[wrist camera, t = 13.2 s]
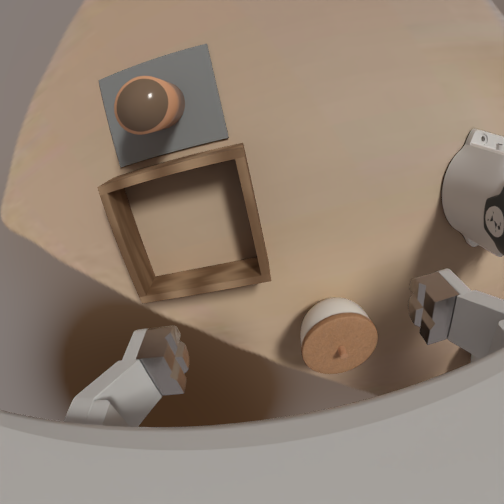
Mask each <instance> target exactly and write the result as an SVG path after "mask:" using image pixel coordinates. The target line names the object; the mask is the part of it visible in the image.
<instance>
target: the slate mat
mask: <svg viewBox="0 0 504 504" xmlns="http://www.w3.org/2000/svg"><path fill="white" fill-rule="evenodd" d="M139 76H151V77H155V78H158V79H161V80H164V81H167V82H170V83H172V84H174V85H176V86H177V87H178V88H179V89H180V90H181V91H182V93H183V95H184V98H185V109H184V112H183V115H182V117H181V118H180V120H179V121H178V122H177V123H176V124H175V125H173V126H171V127H169V128H167V129H163V130H159V131H155V132H152V133H148V134H142V135H138V134H133V133H130V132H128V131H126V130H124V129H123V128H122V127H121V126H120V125H119V123H118V121H117V119H116V117H115V113H114V103H115V99H116V96H117V94H118V92H119V90H120V89H121V88H122V86H123V85H124V84H125V83H127V82H128V81H129V80H131V79H133V78H135V77H139ZM99 84H100V89H101V94H102V98H103V102H104V107H105V111H106V115H107V119H108V123H109V127H110V131H111V135H112V138H113V142H114V146H115V149H116V153H117V157H118V160H119V164H120V167H124V166H127V165H130V164H133V163H136V162H140V161H143V160H146V159H149V158H153V157H156V156H160V155H163V154H166V153H170V152H174V151H177V150H181V149H185V148H189V147H192V146H196V145H200V144H204V143H208V142H213V141H217V140H221V139H225V138H229V137H228V133H227V128H226V124H225V120H224V115H223V111H222V107H221V102H220V98H219V94H218V89H217V85H216V81H215V76H214V72H213V68H212V63H211V59H210V55H209V51H208V46H207V44H204V45H200V46H196V47H192V48H188V49H185V50H181V51H178V52H175V53H171V54H168V55H165V56H162V57H159V58H156V59H153V60H150V61H147V62H144V63H141V64H138V65H136V66H133V67H130V68H128V69H125V70H122V71H120V72H117V73H115V74H113V75H110V76H108V77H105V78H103V79H101V80H99Z"/></svg>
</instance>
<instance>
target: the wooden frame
mask: <svg viewBox="0 0 504 504" xmlns="http://www.w3.org/2000/svg"><path fill="white" fill-rule="evenodd" d="M233 159H235V161H236V165H237V170H238V174H239V179H240V183H241V187H242V192H243V196H244V201H245V205H246V209H247V214H248V218H249V223H250V227H251V231H252V236H253V240H254V245H255V249H256V254H257V257H255V258H250V259H245V260H239V261H234V262H229V263H224V264H219V265H213V266H208V267H203V268H198V269H193V270H187V271H182V272H177V273H172V274H166V275H161V276H156V277H155V274H154V272H153V269H152V266H151V264H150V261H149V259H148V256H147V253H146V250H145V248H144V245H143V242H142V239H141V237H140V234H139V231H138V228H137V225H136V222H135V219H134V217H133V214H132V211H131V208H130V205H129V201H128V198H127V195H126V192H125V189H124V188H125V187H129V186H132V185H135V184H139V183H142V182H146V181H149V180H153V179H156V178H160V177H164V176H167V175H171V174H175V173H179V172H182V171H186V170H190V169H194V168H198V167H202V166H207V165H211V164H215V163H219V162H224V161H228V160H233ZM97 188H98V191H99V194H100V197H101V200H102V203H103V206H104V209H105V211H106V214H107V217H108V220H109V223H110V226H111V228H112V231H113V234H114V236H115V239H116V242H117V244H118V247H119V249H120V252H121V254H122V257H123V259H124V262H125V264H126V267H127V269H128V272H129V274H130V276H131V279H132V281H133V284H134V286H135V288H136V290H137V293H138V295H139V297H140V299H141V302H142V303H148V302H155V301H161V300H167V299H173V298H179V297H185V296H191V295H197V294H202V293H208V292H214V291H219V290H225V289H230V288H236V287H241V286H247V285H252V284H258V283H263V282H268V281H271V276H270V269H269V262H268V257H267V252H266V247H265V242H264V238H263V233H262V228H261V224H260V219H259V214H258V209H257V205H256V200H255V196H254V191H253V186H252V182H251V177H250V173H249V168H248V163H247V159H246V154H245V150H244V145H243V143H240V144H236V145H231V146H227V147H222V148H218V149H214V150H209V151H205V152H201V153H197V154H193V155H189V156H185V157H182V158H178V159H174V160H170V161H167V162H163V163H160V164H156V165H153V166H149V167H146V168H143V169H139V170H136V171H133V172H130V173H127V174H123V175H120V176H117V177H114V178H112V179H111V180H109V181H107V182H106V183H104V184H102V185H101V186H99V187H97Z"/></svg>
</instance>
